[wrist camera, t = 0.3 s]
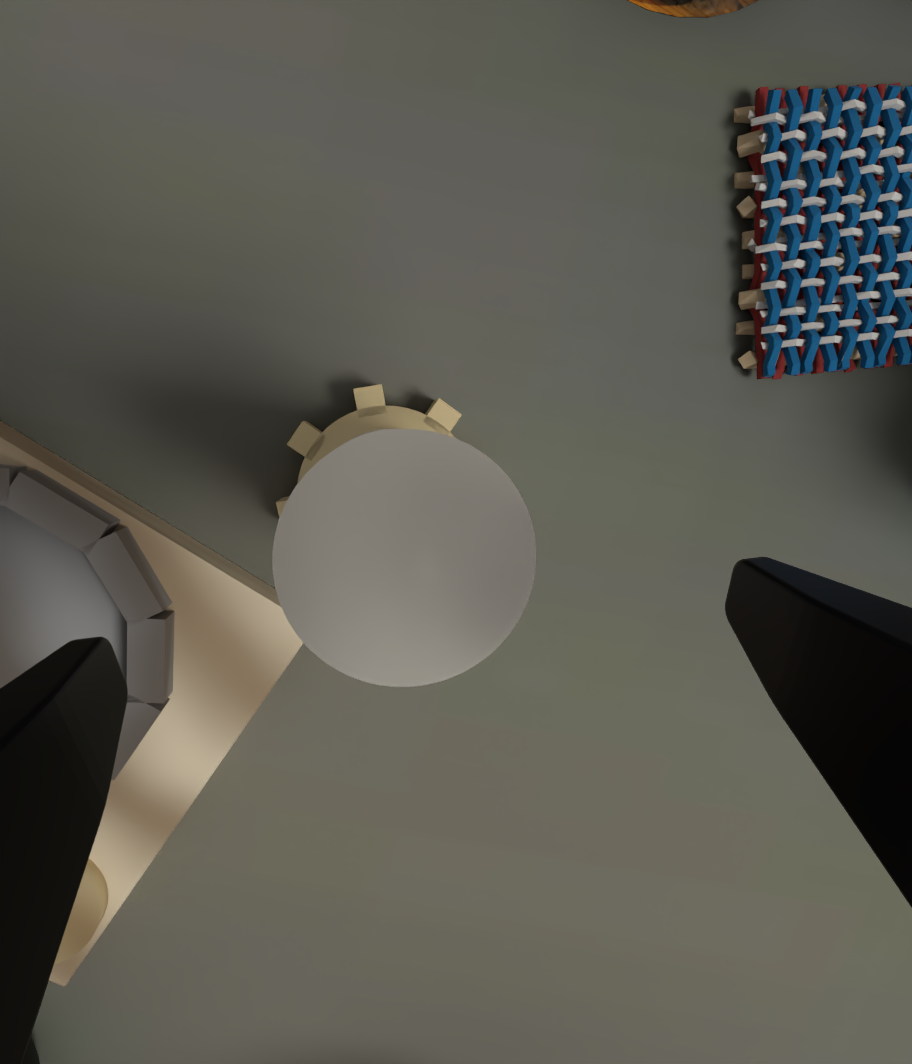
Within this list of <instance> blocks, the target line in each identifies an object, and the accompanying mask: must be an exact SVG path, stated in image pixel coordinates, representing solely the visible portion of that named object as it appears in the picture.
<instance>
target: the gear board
mask: <svg viewBox="0 0 912 1064" xmlns="http://www.w3.org/2000/svg"><path fill="white" fill-rule="evenodd" d="M92 637H104V638H106V639H108V640H109V642H110V643H111V645H112V647H113V649H114V652H115V655H116V657H117V660H118V662H119V665H120V667H121V670H122V672H123V675H124V677H125V680H126V683H127V688H128V699H127V705H126V710H125V715H124V720H123V725H122V730H121V734H120V739H119V744H118V749H117V754H116V759H115V764H114V769H113V774H112V779H111V784H110V789H109V793H108V797H107V801H106V806H105V809H104V812H103V816H102V819H101V822H100V825H99V829H98V832H97V835H96V838H95V841H94V844H93V847H92V850H91V853H90V856H89V859H88V862H87V865H86V868H85V871H84V874H83V877H82V880H81V883H80V887H79V890H78V893H77V896H76V899H75V902H74V905H73V908H72V911H71V914H70V917H69V920H68V923H67V926H66V929H65V932H64V935H63V938H62V941H61V945H60V948H59V951H58V954H57V957H56V960H55V963H54V966H53V969H52V972H51V975H50V978H49V980H50V981H52V982H55V983H57V984H59V985H62V986H64V987H65V986H66V984H67V983H68V981H69V980H70V978H71V977H72V976H73V974H74V973H75V971H76V970H77V968H78V967H79V966H80V964H81V963H82V961H83V960H84V958H85V957H86V955H87V954H88V953H89V951H90V950H91V948H92V947H93V945H94V944H95V942H96V941H97V940H98V938H99V937H100V935H101V934H102V932H103V931H104V930H105V928H106V927H107V925H108V924H109V922H110V921H111V919H112V918H113V917H114V915H115V914H116V912H117V911H118V909H119V908H120V906H121V905H122V904H123V902H124V901H125V899H126V898H127V896H128V895H129V893H130V892H131V891H132V889H133V888H134V886H135V885H136V883H137V882H138V881H139V879H140V878H141V876H142V875H143V873H144V872H145V870H146V869H147V868H148V866H149V865H150V863H151V862H152V860H153V859H154V857H155V856H156V855H157V853H158V852H159V850H160V849H161V847H162V846H163V845H164V843H165V842H166V840H167V839H168V837H169V836H170V834H171V833H172V832H173V830H174V829H175V827H176V826H177V824H178V823H179V821H180V820H181V819H182V817H183V816H184V814H185V813H186V811H187V810H188V808H189V807H190V806H191V804H192V803H193V801H194V800H195V798H196V797H197V796H198V794H199V793H200V791H201V790H202V788H203V787H204V785H205V784H206V783H207V781H208V780H209V778H210V777H211V775H212V774H213V772H214V771H215V770H216V768H217V767H218V765H219V764H220V762H221V761H222V760H223V758H224V757H225V755H226V754H227V752H228V751H229V749H230V748H231V747H232V745H233V744H234V742H235V741H236V739H237V738H238V736H239V735H240V734H241V732H242V731H243V729H244V728H245V726H246V725H247V723H248V722H249V721H250V719H251V718H252V716H253V715H254V713H255V712H256V711H257V709H258V708H259V706H260V705H261V703H262V702H263V700H264V699H265V698H266V696H267V695H268V693H269V692H270V690H271V689H272V687H273V686H274V685H275V683H276V682H277V680H278V679H279V677H280V676H281V675H282V673H283V672H284V670H285V669H286V667H287V666H288V664H289V663H290V662H291V660H292V659H293V657H294V656H295V654H296V653H297V651H298V650H299V649H300V647H301V646H302V644H303V642H302V640H301V639H300V638H299V637H298V636H297V634H296V633H295V631H294V630H293V628H292V627H291V625H290V623H289V622H288V620H287V618H286V616H285V614H284V612H283V609H282V607H281V605H280V602H279V599H278V595H277V592H276V589H275V588H273V587H271V586H270V585H268V584H266V583H265V582H263V581H261V580H260V579H258V578H257V577H255V576H253V575H252V574H250V573H248V572H247V571H245V570H243V569H242V568H240V567H239V566H237V565H235V564H234V563H232V562H230V561H229V560H227V559H225V558H224V557H222V556H221V555H219V554H217V553H216V552H214V551H212V550H211V549H209V548H207V547H206V546H204V545H203V544H201V543H199V542H198V541H196V540H194V539H193V538H191V537H189V536H188V535H186V534H185V533H183V532H181V531H180V530H178V529H176V528H175V527H173V526H172V525H170V524H168V523H167V522H165V521H163V520H162V519H160V518H158V517H157V516H155V515H154V514H152V513H150V512H149V511H147V510H145V509H144V508H142V507H140V506H139V505H137V504H136V503H134V502H132V501H131V500H129V499H127V498H126V497H124V496H122V495H121V494H119V493H118V492H116V491H114V490H113V489H111V488H109V487H108V486H106V485H104V484H103V483H101V482H100V481H98V480H96V479H95V478H93V477H91V476H90V475H88V474H86V473H85V472H83V471H82V470H80V469H78V468H77V467H75V466H73V465H72V464H70V463H69V462H67V461H65V460H64V459H62V458H60V457H59V456H57V455H55V454H54V453H52V452H51V451H49V450H47V449H46V448H44V447H42V446H41V445H39V444H37V443H36V442H34V441H33V440H31V439H29V438H28V437H26V436H24V435H23V434H21V433H19V432H18V431H16V430H15V429H13V428H11V427H10V426H8V425H6V424H5V423H3V422H1V421H0V688H2V687H3V686H5V685H6V684H8V683H9V682H10V681H12V680H13V679H15V678H16V677H18V676H19V675H21V674H22V673H24V672H25V671H27V670H28V669H29V668H31V667H32V666H34V665H35V664H37V663H38V662H40V661H41V660H43V659H44V658H46V657H47V656H49V655H50V654H51V653H53V652H54V651H56V650H57V649H59V648H60V647H62V646H63V645H65V644H66V643H68V642H69V641H72V640H75V639H84V638H92Z"/></svg>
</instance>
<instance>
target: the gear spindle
mask: <svg viewBox="0 0 912 1064" xmlns="http://www.w3.org/2000/svg"><path fill="white" fill-rule="evenodd" d="M353 391H354V396H355V401H356V406H357V411H354V412H352V413H349V414H347V415H345V416H343V417H341V418H340V419H338V420H336V421H335V422H334V423H332V424H331V425H330V426H328V427H327V428H326V429H325V430H324V431H323V432H322V431H320V430H319V429H318V428H316V427H315V426H313V425H312V424H310V423H309V422H307V421H302V423H301V424H300V425H299V427H298V428H297V430H296V431H295V433H294V434H293V436H292V437H291V439H290V440H289V442H288V443H287V445H288V446H289V447H291V448H292V449H294V450H295V451H297V452H298V453H300V454H301V455H303V456H304V457H305V458H304V461H303V463H302V466H301V469H300V473H299V477H298V484H297V485H296V487H295V488H294V490H293V491H292V493H291V495H290V496H288V497H283V498H281V499H280V500H278V501H277V502H276V505H277V510H278V514H279V521H278V525H277V529H276V532H275V536H274V544H273V553H272V563H273V577H274V583H275V589H276V592H277V595H278V599H279V602H280V605H281V607H282V609H283V612H284V614H285V616H286V618H287V620H288V622H289V623H290V625H291V627H292V628H293V630H294V631H295V633H296V634H297V636H298V637H299V638H300V639H301V640H302V642H303V643H304V644H305V645H306V646H307V647H308V648H309V649H310V650H311V651H312V652H313V653H314V654H315V655H316V656H318V657H319V658H320V659H321V660H322V661H324V662H325V663H327V664H328V665H330V666H331V667H333V668H334V669H336V670H338V671H340V672H342V673H344V674H346V675H348V676H350V677H353V678H356V679H358V680H361V681H364V682H368V683H373V684H377V685H382V686H393V687H412V686H421V685H427V684H432V683H436V682H439V681H443V680H446V679H449V678H451V677H454V676H456V675H459V674H461V673H463V672H465V671H467V670H468V669H470V668H472V667H474V666H475V665H477V664H478V663H480V662H481V661H482V660H484V659H485V658H486V657H488V656H489V655H490V654H491V653H492V652H493V651H494V650H495V649H496V648H498V647H499V646H500V645H501V644H502V643H503V641H504V640H505V639H506V638H507V636H508V635H509V634H510V633H511V631H512V630H513V629H514V627H515V625H516V624H517V622H518V621H519V619H520V617H521V615H522V613H523V611H524V609H525V607H526V605H527V602H528V600H529V596H530V593H531V590H532V587H533V582H534V576H535V571H536V542H535V535H534V530H533V525H532V521H531V518H530V515H529V512H528V510H527V507H526V505H525V503H524V501H523V499H522V497H521V495H520V493H519V491H518V490H517V488H516V487H515V485H514V484H513V482H512V481H511V480H510V478H509V477H508V476H507V475H506V474H505V472H504V471H503V470H502V469H501V468H500V467H499V466H498V465H497V464H496V463H495V462H494V461H492V460H491V459H490V458H489V457H488V456H486V455H485V454H484V453H482V452H481V451H479V450H477V449H476V448H474V447H473V446H471V445H469V444H467V443H465V442H463V441H461V440H458V439H456V438H455V437H454V436H453V435H452V434H451V433H450V431H451V430H452V428H453V427H454V425H455V424H456V422H457V421H458V419H459V418H460V417H461V414H460V413H459V412H457V411H456V410H455V409H453V408H452V407H450V406H449V405H448V404H446V403H445V402H444V401H442V400H441V399H440V398H438V399H436V400H434V401H433V403H432V404H431V406H430V407H429V409H428V410H427V412H426V413H425V414H423V413H421V412H418V411H415V410H412V409H409V408H404V407H399V406H386V405H385V399H384V394H383V389H382V384H380V385H374V386H368V387H362V388H355V389H353Z"/></svg>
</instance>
